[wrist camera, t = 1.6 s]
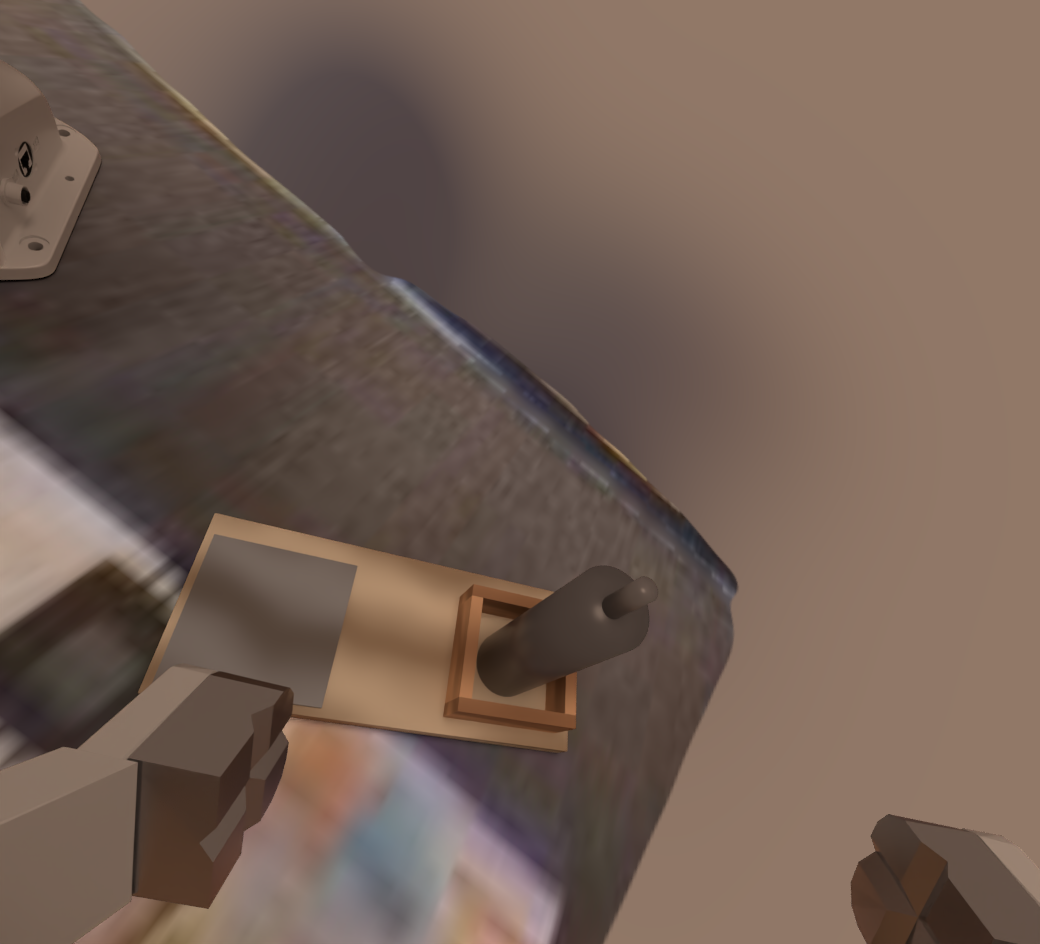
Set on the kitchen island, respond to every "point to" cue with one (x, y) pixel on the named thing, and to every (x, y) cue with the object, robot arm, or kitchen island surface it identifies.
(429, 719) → the cable board
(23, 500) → the kitchen island surface
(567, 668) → the plug
